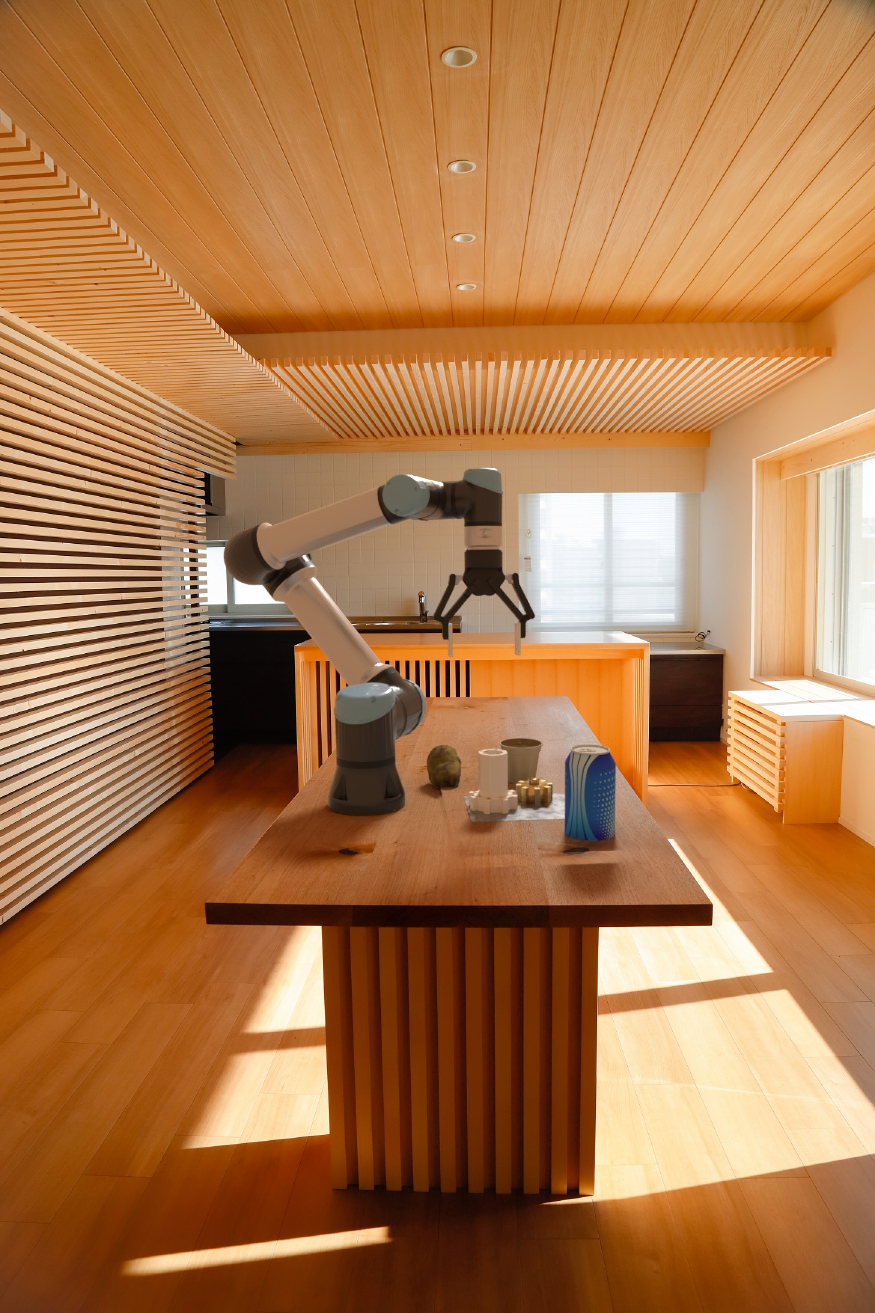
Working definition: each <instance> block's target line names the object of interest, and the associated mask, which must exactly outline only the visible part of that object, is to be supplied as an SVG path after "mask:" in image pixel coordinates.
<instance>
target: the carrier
mask: <svg viewBox="0 0 875 1313" xmlns="http://www.w3.org/2000/svg"><path fill="white" fill-rule="evenodd" d="M553 788H554V786H553V783H552V782H547V780H545V779H540V778H538V777H536V778H529V779H528V781H518V783H515V791H516V795H518V808H517V810H515V809H511V810H508V813H505V814H503V813H501V812H499V813H490V814H484V812H482V811H478V810H477V811H472V810H470V806H469V795H463V797H462V798H463V799H464V802H465V805H466V809H467V811H468V814H469V817H470V820H471V822H472V823H487V822H488V823H489V822H493V823H494V822H514V821H515V822H517V821H518V822H519V821H522V822H523V821H545V820H546V821H547V820H548V821H549V820H565V792H553Z"/></svg>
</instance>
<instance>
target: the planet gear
mask: <svg viewBox="0 0 875 1313" xmlns="http://www.w3.org/2000/svg"><path fill="white" fill-rule="evenodd" d="M477 752H478V754H477V755H478V790H476V791H474V790H470V791H468V796H469V806H470V810H472V811H477V810H478V811H482V812H484V814H490V813H499V812H501V813H503V814H505V813H508V810H511V809H515V810H517V808H518V795H516V790H514V789H509V786H508V785H509V782H508V753H507V751H506V750H501V749H499V748H486V749H481V750H478V751H477Z"/></svg>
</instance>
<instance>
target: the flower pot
mask: <svg viewBox="0 0 875 1313" xmlns="http://www.w3.org/2000/svg"><path fill="white" fill-rule="evenodd" d="M498 744H499V746H500V748H501V749H500V750H506V751H507V753H508V784H511V785H512V784H518V781H528V779H529V778H537V771H538V764H539V756H540V753H541V751H542V747H543V746H544V742H543V741H542V740H539V739H536V738H530V737H512V738H505V739H502V740H500V741H499V742H498Z"/></svg>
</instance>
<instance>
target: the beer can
mask: <svg viewBox="0 0 875 1313" xmlns="http://www.w3.org/2000/svg"><path fill="white" fill-rule="evenodd" d="M616 768H617V764H616V760H615V758H614V757H613V755H612V753H611V749H610V748H609V747H608V746H605V745H601V744H588V743H587V744H577V745H574V746H571V747H570V752H569V754H568V755H567V757H566V758H565V761H564V793H565V819H564V834H565V835H566V836H567V837H570V838H571V839H576V840H579V841H585V842H587V841H589V842H590V841H591V842H598V841H599V842H600V841H607V840H610V839H612V838H613V837H615V835H616V783H617V782H616V778H617V776H616V775H617V774H616V772H617V771H616V770H617V769H616Z"/></svg>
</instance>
